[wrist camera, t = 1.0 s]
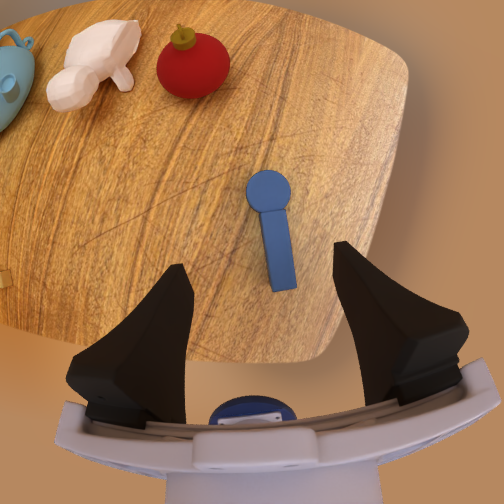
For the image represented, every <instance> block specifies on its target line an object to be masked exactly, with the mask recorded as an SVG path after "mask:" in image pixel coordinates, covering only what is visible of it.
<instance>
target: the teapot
mask: <svg viewBox="0 0 504 504" xmlns="http://www.w3.org/2000/svg"><path fill="white" fill-rule="evenodd" d="M5 35H10V36H11V37H12V39H13V40H14V42H15V44H16V45H17V46H3V47H0V132H1V131H3V130H4V129H5V128H6V127H7V126H8V125H9V124H10V123H11V122H12V121H13V119H14V118H15V117H16V115H17V114H18V112H19V111H20V109H21V107H22V106H23V104H24V102H25V100H26V98H27V96H28V94H29V91H30V89H31V86H32V83H33V79H34V71H35V61H34V57H33V54H32V53H31V52H30V51H29V50H30V49H31V48H32V46H33V43H34V39H33V38H32V37H26V38H25V39H23V41H22V40H21V38H20V36H19V35H18V33H17V32H16V31H15V30H13V29H7V30H4V31H3V32H1V33H0V40H1V38H2V37H3V36H5ZM27 41H28V44H27V46H25V43H26V42H27Z"/></svg>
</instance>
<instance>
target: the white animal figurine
mask: <svg viewBox="0 0 504 504" xmlns="http://www.w3.org/2000/svg"><path fill="white" fill-rule="evenodd" d="M140 36H141V29H140V27H139V25H138V20H134V21H132V20H129V21H123V20H106V21H102V22H99V23H96V24H94V25H92V26H90V27H88V28H86V29H85V30H83V31H82V32H80V33H79V34H77V35H75V36H74V37H73V38H72V41H71V43H70V46H69V48H68V49H67V52H66V57H65V62H64V68H65V69H64V70H62V71H60V72H59V73H57V74H56V75H55V76H54V77H53V78H52V79H51V80H50V81H49V83H48V85H47V89H46V92H47V97H48V101H49V103H50V105H51V106H52V108H53V109H54V110H56V111H58V112H70V111H73V110H77V109H79V108H82V107H84V106H86V105H87V104H88V103H89V102H90V101H91V99H92V97H93V95H94V93H95V92H96V91H97V89H98V85H99V82H101V81H103V80H105V79H106V78H108V77H111V78H112V79H113V81H114V82H115V83H116V85H117V86H118V89H119V90H120V91H124V92H126V91H130V90H131V89H132V88H133V85H134V79H133V76H132V74H131V73H130V71H129V70H128V68H127V67H126V66H125V65H126V63H127V62H128V61H129V60H130V58H131V57H132V56H133V54H134V53H135V52H136V50H137V47H138V44H139V42H140V41H139V39H140Z"/></svg>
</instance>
